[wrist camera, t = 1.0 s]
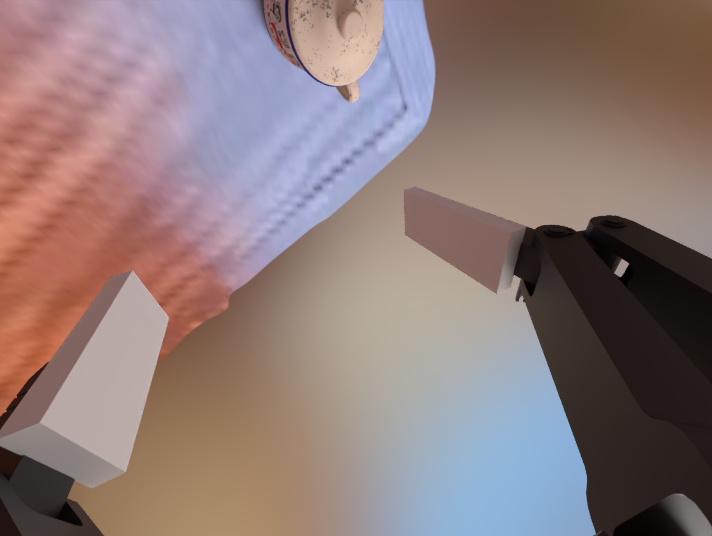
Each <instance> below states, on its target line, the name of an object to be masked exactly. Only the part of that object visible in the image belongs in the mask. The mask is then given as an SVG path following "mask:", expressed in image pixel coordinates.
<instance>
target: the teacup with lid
mask: <svg viewBox="0 0 712 536" xmlns="http://www.w3.org/2000/svg"><path fill="white" fill-rule="evenodd" d="M264 14H265V20H266V24H267V28H268V31H269V34H270V36H271V38H272V41H273V42H274V44H275V46H276V48H277V49H278V50H279V52H280V53H281V54H282V55H283V56H284V58H286V59H287V60H288V61H289V62H290V63H292V64H294V65H295V66H297V67H299V68H301V69H302V70H304V71H306V72H307V73H308V74H309V75H310V76H311V77H312V78H313V79H315V80H316V81H318V82H320V83H322V84H324V85H327V86H332V87H336V88H337V90H338V92H339V93H340V94H341V96H342V97H343V98H344V99H345V100H346V101H348V102H350V103H353V102H355V101H356V100H357V99H358V98H359V87H358V83H357V79H358V78H360V77H361V76H362V75H363V74H364V73H365V72H366V71H367V69H368V68H369V66H370V65H371V63H372V62H373V60H374V58H375V56H376V53H377V51H378V48H379V45H380V41H381V37H382V31H383V18H384V13H383V0H264Z"/></svg>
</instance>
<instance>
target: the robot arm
mask: <svg viewBox="0 0 712 536" xmlns="http://www.w3.org/2000/svg"><path fill="white" fill-rule="evenodd" d="M404 211H405V212H404V213H405V235H406V236H408V237H409V238H411V239H413V240H414V241H416V242H417V243H419V244H420V245H422V246H423V247H425V248H426V249H428V250H429V251H431V252H433V253H434V254H436V255H437V256H439V257H440V258H442V259H443V260H445V261H446V262H448V263H450V264H451V265H453V266H454V267H456V268H457V269H459V270H460V271H462V272H464V273H465V274H467V275H468V276H470V277H471V278H473V279H475V280H476V281H477V282H479V283H481V284H482V285H484V286H485V287H487V288H488V289H490V290H492V291H493V292H495V293H496V294H497V293H499V292H501V291H504V290H506V289H508V288H510V287H511V283H512V279H513V276H514V275H515V276H517V277H519V278H521V281H520V284H519V287H518V291H517V295H516V301H519V298H520V297H521V296H522V295H523V298H524V299H523V302H525V303H526V306H527V309H528V312H529V314H530V317H531V320H532V323H533V325H534V328H535V330H536V333H537V336H538V339H539V342H540V345H541V347H542V350H543V353H544V355H545V358H546V361H547V364H548V367H549V369H550V372H551V375H552V377H553V380H554V383H555V386H556V388H557V391H558V394H559V397H560V399H561V402H562V405H563V408H564V411H565V413H566V416H567V419H568V422H569V424H570V427H571V430H572V432H573V435H574V438H575V441H576V443H577V446H578V449H579V452H580V454H581V457H582V460H583V463H584V465H585V469H586V474H587V490H586V495H587V503H588V509H589V512H590V516H591V520H592V523H593V526H594V528H595V531H596V535H594V536H712V259H711V258H709V257H707V256H705V255H703V254H701V253H699V252H697V251H695V250H692V249H690V248H688V247H686V246H684V245H682V244H680V243H678V242H676V241H674V240H672V239H669V238H667V237H665V236H663V235H661V234H659V233H657V232H655V231H652V230H651V229H648V228H646V227H644V226H642V225H640V224H638V223H636V222H634V221H631V220H628V219H625V218H622V217H619V216H612V215H607V216H598V217H593V218H592V219H590V221H589V224H588V226H587V229H586V230H584V231H577V232H576V231H575V230H573V229H572V228H568V227H565V226H560V225H543V226H540V227H537V228H536V229H532V228H529V227H526V226H523V225H520V224H518V223H515V222H512V221H509V220H506V219H504V218H501V217H498V216H496V215H493V214H490V213H487V212H484V211H481V210H478V209H475V208H473V207H470V206H467V205H464V204H462V203H459V202H456V201H453V200H451V199H448V198H445V197H442V196H439V195H437V194H433V193H431V192H428V191H425V190H423V189H420V188H417V187H413V188H410V189H407V190H404ZM621 259H623V260H625V261H627V262H628V263H629V265H628V267H627V269H626V271H625V273H624V274H623V275H622V277H619V276H617V275H616V274H614V272H615V271H616V269H617V267H618V265H619V263H620V261H621ZM168 320H169V317H168V316H167V314H166V313H165V312H164V310H163V309H162V308H161V307H160V305H159V304H158V303H157V301H156V300H155V299H154V297H153V296H152V295H151V294H150V292H149V291H148V290H147V288H146V287H145V286H144V285H143V283H142V282H141V281H140V279H139V278H138V277H137V275H136V274H135V273H134V272H133V270H132V271H128V272H125V273H121V274H118V275H115V276H111V277H110V278H109V280H108V281H107V283H106V284H105V285H104V287H103V288H102V290H101V291H100V292H99V294H98V295H97V296H96V298H95V299H94V301H93V302H92V303H91V305H90V306H89V308H88V309H87V310H86V312H85V313H84V315H83V316H82V317H81V319H80V320H79V321H78V323H77V324H76V326H75V327H74V328H73V330H72V331H71V333H70V334H69V335H68V337H67V338H66V339H65V341H64V342H63V344H62V345H61V346H60V348H59V349H58V351H57V352H56V353H55V355H54V356H53V357H52V359H51V360H50V362H47V363H46V364H45V365H44V366H43V367H42V368H41V369H40V370H39V371H37V372H36V373H35V374H34V375H33V376H32V377H31V378H30V379H29V380H28V381H27V382H26V384H25V385H24V386H23V388H22V389H21V390H20V392H19V393H18V394H17V398H15V399H14V400H13V401H12V402H11V404H10V405H9V406H8V408H7V409H6V410H7V412H5V413H3V414H2V416H1V417H0V536H104V535H103V534H102V533H101V531H100V530H99V529H98V528H97V527H96V525H95V524H94V523H93V521H92V520H91V519H90V518H89V516H88V515H87V514H86V513H85V511H84V510H83V509H82V508H81V506H80V505H79V504H78V503H77V502H75V501H72V500H70V499H68V498H67V497H68V494H69V492H70V489H71V487H72V485H73V483H74V481H77V482H79V483H81V484H83V485H85V486H87V487H89V488H94V487H96V486H98V485H100V484H102V483H104V482H107V481H109V480H111V479H113V478H115V477H117V476H119V475H121V474H123V473H125V472H126V470H127V466H128V463H129V459H130V456H131V452H132V449H133V445H134V441H135V438H136V434H137V431H138V427H139V424H140V420H141V416H142V413H143V409H144V406H145V402H146V399H147V395H148V391H149V388H150V384H151V381H152V377H153V373H154V370H155V367H156V363H157V359H158V356H159V352H160V349H161V345H162V342H163V338H164V334H165V331H166V327H167V324H168Z"/></svg>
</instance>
